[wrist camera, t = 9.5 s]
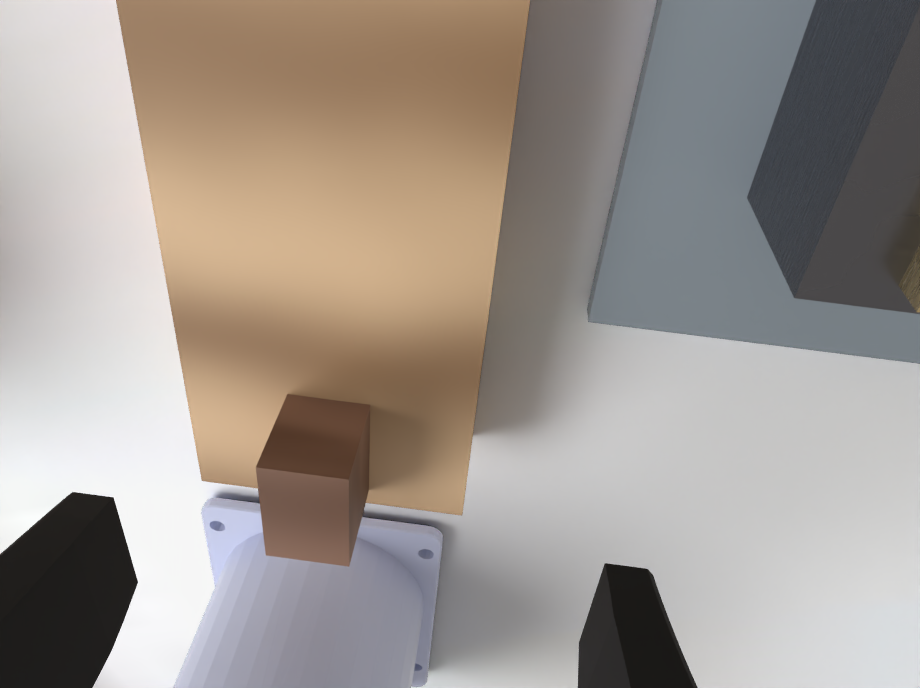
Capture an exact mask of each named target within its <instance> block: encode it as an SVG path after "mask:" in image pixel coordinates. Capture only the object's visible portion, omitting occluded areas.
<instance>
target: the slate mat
mask: <svg viewBox="0 0 920 688" xmlns="http://www.w3.org/2000/svg"><path fill="white" fill-rule="evenodd" d="M815 2H816V0H657V5H656V9H655V13H654V18H653V22H652V27H651V31H650V35H649V40H648V44H647V49H646V53H645V57H644V62H643V66H642V70H641V75H640V79H639V84H638V88H637V92H636V97H635V101H634V106H633V110H632V114H631V119H630V123H629V128H628V132H627V136H626V141H625V145H624V150H623V154H622V158H621V163H620V167H619V172H618V176H617V180H616V185H615V189H614V193H613V198H612V202H611V207H610V211H609V215H608V220H607V224H606V229H605V233H604V237H603V242H602V246H601V251H600V255H599V259H598V264H597V268H596V273H595V277H594V281H593V286H592V290H591V295H590V299H589V303H588V308H587V311H588V322H593V323H601V324H609V325H617V326H625V327H633V328H640V329H648V330H656V331H664V332H672V333H680V334H688V335H696V336H704V337H712V338H720V339H728V340H736V341H744V342H752V343H760V344H768V345H776V346H784V347H792V348H800V349H808V350H816V351H824V352H832V353H840V354H848V355H856V356H863V357H871V358H879V359H887V360H895V361H903V362H911V363H919V364H920V314H915V313H907V312H899V311H891V310H883V309H875V308H867V307H859V306H852V305H844V304H836V303H828V302H820V301H812V300H804V299H796V298H794V297H793V295H792V292H791V290H790V288H789V286H788V284H787V282H786V280H785V278H784V275H783V273H782V271H781V269H780V267H779V265H778V263H777V261H776V258H775V256H774V254H773V252H772V250H771V248H770V246H769V244H768V241H767V239H766V237H765V235H764V233H763V231H762V229H761V227H760V224H759V222H758V220H757V218H756V216H755V214H754V212H753V210H752V207H751V205H750V203H749V201H748V199H747V196H748V193H749V190H750V187H751V184H752V182H753V179H754V176H755V173H756V170H757V167H758V164H759V162H760V159H761V156H762V153H763V150H764V147H765V144H766V142H767V139H768V136H769V133H770V130H771V127H772V124H773V122H774V119H775V116H776V113H777V110H778V107H779V105H780V102H781V99H782V96H783V93H784V90H785V87H786V85H787V82H788V79H789V76H790V73H791V70H792V67H793V65H794V62H795V59H796V56H797V53H798V50H799V47H800V45H801V42H802V39H803V36H804V33H805V30H806V27H807V25H808V22H809V19H810V16H811V13H812V10H813V7H814V5H815Z"/></svg>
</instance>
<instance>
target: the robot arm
mask: <svg viewBox="0 0 920 688" xmlns="http://www.w3.org/2000/svg"><path fill="white" fill-rule="evenodd" d="M201 514H202V519H203V525H204V530H205V536H206V541H207V546H208V552H209V557H210V562H211V568H212V573H213V578H214V584H215V589H214V591H213V593H212V596H211V598H210V601H209V603H208V605H207V608H206V610H205V613H204V615H203V617H202V620H201V622H200V625H199V627H198V629H197V632H196V634H195V637H194V639H193V641H192V644H191V646H190V649H189V651H188V653H187V656H186V658H185V661H184V663H183V665H182V668H181V670H180V673H179V675H178V677H177V680H176V682H175V685H174V687H173V688H411V686H412V687H420V686H423V685H424V684H426V682H427V677H428V669H429V660H430V651H431V642H432V633H433V624H434V615H435V606H436V597H437V588H438V579H439V570H440V561H441V553H442V544H443V535H442V533H441V532H440V531H439V530H438V529H436V528H435V527H431V526H425V525H418V524H410V523H403V522H395V521H388V520H380V519H373V518H365V517H362V519H361V523H360V527H359V531H358V535H357V538H356V542H355V546H354V550H353V554H352V558H351V562H350V566H349V567H348V566H340V565H333V564H325V563H318V562H311V561H303V560H296V559H288V558H281V557H274V556H266V554H265V545H264V536H263V527H262V519H261V510H260V503H253V502H245V501H238V500H230V499H223V498H211V499H208V500H207V501H206V502H205V504H204V506H203V508H202V512H201ZM137 583H138V581H137V578H136V574H135V571H134V567H133V564H132V560H131V557H130V553H129V550H128V546H127V543H126V539H125V536H124V532H123V529H122V526H121V522H120V519H119V515H118V512H117V508H116V505H115V501H114V498H113V497H105V496H98V495H91V494H83V493H76V492H72V493H71V494H70V495H68V496H67V497H66V498H65V499H63V500H62V501H61V502H60V503H59V504H58V505H56V506H55V507H54V508H53V509H52V510H51V511H49V512H48V513H47V514H46V515H45V516H44V517H42V518H41V519H40V520H39V521H38V522H37V523H36V524H34V525H33V526H32V527H31V528H30V529H29V530H28V531H26V532H25V533H24V534H23V535H22V536H21V537H20V538H18V539H17V540H16V541H15V542H14V543H13V544H11V545H10V546H9V547H8V548H7V549H6V550H5V551H3V552H2V553H1V554H0V688H92V687H93V685H94V684H95V682H96V680H97V678H98V676H99V674H100V672H101V670H102V668H103V666H104V664H105V662H106V660H107V658H108V656H109V654H110V653H111V651H112V648H113V646H114V643H115V641H116V638H117V636H118V633H119V631H120V628H121V626H122V623H123V621H124V618H125V616H126V613H127V610H128V608H129V605H130V602H131V599H132V597H133V594H134V591H135V589H136V586H137ZM578 688H697V686H696V683H695V681H694V679H693V677H692V674H691V672H690V670H689V667H688V665H687V663H686V660H685V658H684V656H683V653H682V651H681V648H680V646H679V644H678V641H677V639H676V636H675V634H674V631H673V629H672V626H671V624H670V621H669V618H668V616H667V613H666V611H665V608H664V605H663V602H662V600H661V597H660V594H659V591H658V589H657V586H656V583H655V580H654V577H653V575H652V574H651V572H650V571H649V570H648V569H644V568H636V567H629V566H621V565H614V564H606V563H605V565H604V568H603V571H602V574H601V577H600V580H599V583H598V586H597V589H596V592H595V595H594V598H593V601H592V605H591V608H590V611H589V614H588V617H587V620H586V623H585V626H584V629H583V632H582V635H581V638H580V641H579V668H578Z"/></svg>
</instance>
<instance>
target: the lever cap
mask: <svg viewBox="0 0 920 688" xmlns="http://www.w3.org/2000/svg"><path fill="white" fill-rule="evenodd" d="M747 199H748V201H749V203H750V205H751V207H752V210H753V212H754V214H755V216H756V218H757V220H758V222H759V224H760V227H761V229H762V231H763V233H764V235H765V237H766V239H767V241H768V244H769V246H770V248H771V250H772V252H773V254H774V256H775V258H776V261H777V263H778V265H779V267H780V269H781V271H782V273H783V275H784V278H785V280H786V282H787V284H788V286H789V288H790V290H791V292H792V295H793V297H794V298H796V299H804V300H812V301H820V302H828V303H836V304H844V305H852V306H859V307H867V308H875V309H883V310H891V311H899V312H907V313H915V314H920V0H816V2H815V5H814V7H813V10H812V13H811V16H810V19H809V22H808V25H807V27H806V30H805V33H804V36H803V39H802V42H801V45H800V47H799V50H798V53H797V56H796V59H795V62H794V65H793V67H792V70H791V73H790V76H789V79H788V82H787V85H786V87H785V90H784V93H783V96H782V99H781V102H780V105H779V107H778V110H777V113H776V116H775V119H774V122H773V124H772V127H771V130H770V133H769V136H768V139H767V142H766V144H765V147H764V150H763V153H762V156H761V159H760V162H759V164H758V167H757V170H756V173H755V176H754V179H753V182H752V184H751V187H750V190H749V193H748V196H747Z"/></svg>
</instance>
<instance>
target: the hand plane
mask: <svg viewBox="0 0 920 688" xmlns="http://www.w3.org/2000/svg"><path fill="white" fill-rule="evenodd" d="M116 3H117V8H118V14H119V20H120V25H121V31H122V36H123V42H124V48H125V53H126V59H127V64H128V70H129V76H130V81H131V87H132V92H133V98H134V104H135V109H136V115H137V120H138V126H139V132H140V137H141V143H142V148H143V154H144V160H145V165H146V171H147V176H148V182H149V188H150V193H151V199H152V204H153V210H154V216H155V221H156V227H157V232H158V238H159V244H160V249H161V255H162V260H163V266H164V272H165V277H166V283H167V288H168V294H169V299H170V305H171V311H172V316H173V322H174V327H175V333H176V339H177V344H178V350H179V355H180V361H181V367H182V372H183V378H184V383H185V389H186V395H187V400H188V406H189V411H190V417H191V423H192V428H193V434H194V439H195V445H196V451H197V456H198V462H199V467H200V473H201V479H202V481H207V482H214V483H222V484H229V485H237V486H244V487H252V488H258V492H259V501H260V510H261V519H262V527H263V536H264V545H265V554H266V556H274V557H281V558H288V559H296V560H303V561H311V562H318V563H325V564H333V565H340V566H348V567H349V566H350V562H351V558H352V554H353V550H354V546H355V542H356V538H357V535H358V531H359V527H360V523H361V519H362V515H363V511H364V507H365V503H372V504H380V505H387V506H395V507H402V508H410V509H418V510H425V511H433V512H440V513H448V514H455V515H462V513H463V505H464V497H465V490H466V482H467V475H468V467H469V460H470V452H471V445H472V437H473V429H474V422H475V414H476V407H477V399H478V392H479V384H480V376H481V369H482V361H483V354H484V346H485V339H486V331H487V323H488V316H489V308H490V301H491V293H492V286H493V278H494V270H495V263H496V255H497V248H498V240H499V233H500V225H501V217H502V210H503V202H504V195H505V187H506V180H507V172H508V164H509V157H510V149H511V142H512V134H513V127H514V119H515V112H516V104H517V96H518V89H519V81H520V74H521V66H522V59H523V51H524V43H525V36H526V28H527V21H528V13H529V6H530V0H116Z"/></svg>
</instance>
